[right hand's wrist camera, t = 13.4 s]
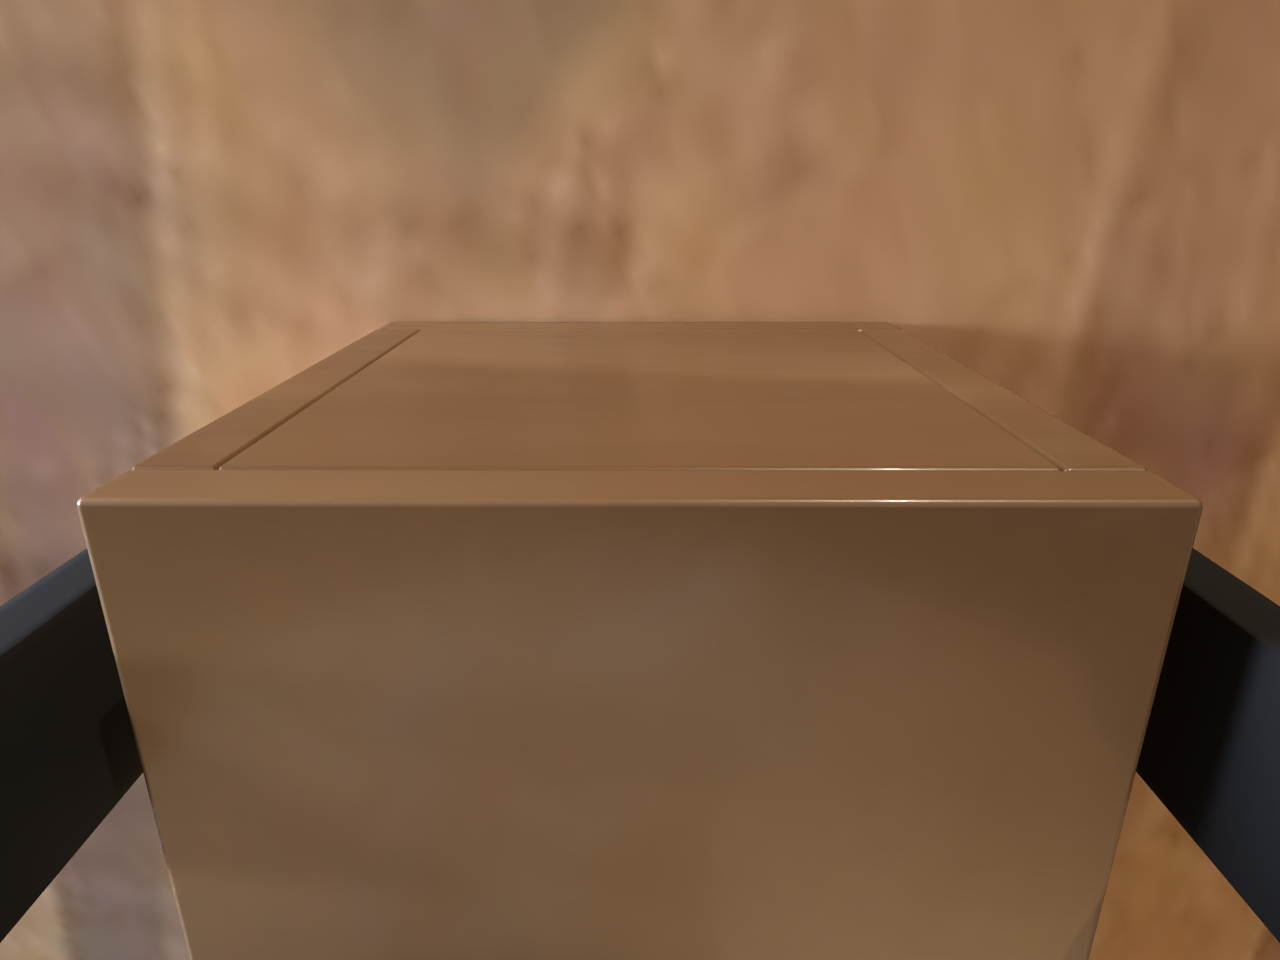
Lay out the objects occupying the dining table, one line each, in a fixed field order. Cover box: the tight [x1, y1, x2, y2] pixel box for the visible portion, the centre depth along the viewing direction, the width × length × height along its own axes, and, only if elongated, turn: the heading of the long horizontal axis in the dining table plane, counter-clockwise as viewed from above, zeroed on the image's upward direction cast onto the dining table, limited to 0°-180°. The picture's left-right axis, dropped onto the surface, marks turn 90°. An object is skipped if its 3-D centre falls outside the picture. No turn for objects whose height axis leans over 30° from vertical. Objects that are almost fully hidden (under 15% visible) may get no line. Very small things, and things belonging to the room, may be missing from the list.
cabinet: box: [77, 322, 1203, 960], centre depth 16 cm, size 20×11×10 cm, turn 0°
